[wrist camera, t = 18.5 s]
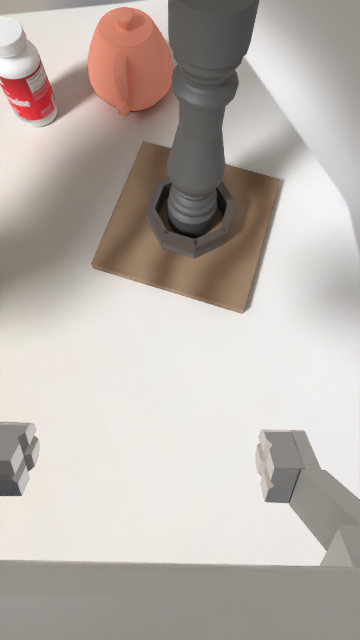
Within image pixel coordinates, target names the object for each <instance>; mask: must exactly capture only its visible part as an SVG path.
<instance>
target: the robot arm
mask: <svg viewBox="0 0 360 640" xmlns="http://www.w3.org/2000/svg"><path fill="white" fill-rule="evenodd" d="M35 432H36V428H35V425H34V424H33V423H20V422H0V496H22V494H23V492H24V490H25V487H26V485H27V483H28V481H29V474H28V471H30V470H31V469H32V468H33V467H35V464H36V462H37V459H38V455H39V440H38V438H36V437H35V436H34V434H35ZM259 439H260V443H259V444H258V445H257V448H256V466H257V471H258V473H259V474H260V475H261V476H262V480H261V488H262V492H263V496H264V501H265V502H276V503H289V505H290V506H291V508H292V509H293V510H294V511H295V512H296V514H297V515H298V516H299V517H300V519H301V520H302V521H303V522H304V524H305V525H306V526H307V527H308V529H309V530H310V531H311V532H312V533H313V535H314V536H315V537H316V538H317V540H318V541H319V542H320V543H321V545H322V546H323V547H324V548H325V550H326V551H327V552H326V554H325V556H324V558H323V560H322V562H321V564H320V566H290V565H240V564H190V563H140V562H87V561H36V560H0V640H360V499H358V498H357V497H356V496H355V495H354V494H353V493H351V492H350V491H349V490H348V489H347V488H346V487H345V486H343V485H342V484H341V483H340V482H339V481H338V480H336V479H335V478H334V477H333V476H332V475H331V474H330V473H328V472H327V471H326V470H321V468H320V466H319V463H318V461H317V459H316V456H315V454H314V452H313V449H312V447H311V445H310V442H309V440H308V438H307V435H306V433H305V432H304V431H303V430H261V431H260V435H259Z"/></svg>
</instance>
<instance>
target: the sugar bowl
mask: <svg viewBox="0 0 360 640" xmlns="http://www.w3.org/2000/svg"><path fill="white" fill-rule="evenodd" d="M88 72H89V78H90V83H91V85H92V87H93V89H94V91H95V92H96V93H97V95H98V96H99V97H100V98H101V99H103V100H104V101H105V102H107V103H108V104H110V105H112V106H114V107H116V108H118V109H119V111H120V114H122V115H124V116H126V115H128V114H129V113H130V111H138V110H143V109H147V108H149V107H151V106H153V105H154V104H156V103H157V102H158V101H160V100H161V99H162V98H163V97H164V96H165V94H166V93H167V92H168V90H169V88H170V86H171V83H172V74H173V66H172V60H171V56H170V52H169V49H168V46H167V44H166V42H165V40H164V38H163V36H162V34H161V32H160V31H159V29H158V28H157V26H156V24H155V23H154V22H153V20H152V19H151V18H150V17H149V16H148V15H147V14H146V13H144V12H142V11H140V10H138V9H134V8H127V7H122V8H117V9H114V10H111V11H109V12H108V13H106V14H105V15H104V16H103V17H102V18H101V19H100V21H99V23H98V25H97V27H96V30H95V32H94V35H93V38H92V41H91V45H90V49H89V56H88Z"/></svg>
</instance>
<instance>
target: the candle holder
mask: <svg viewBox="0 0 360 640" xmlns="http://www.w3.org/2000/svg"><path fill="white" fill-rule="evenodd" d="M258 4H259V0H168V33H169V42H170V46H171V48H172V49H173V55H174V58H175V60H176V61H177V63H178V65H177V66H176V67H175V69H174V72H173V74H172V86H173V92H174V94H175V95H176V97H177V98H178V100H179V101H180V111H179V125H178V128H177V132H176V135H175V138H174V141H173V145H172V148H171V151H170V154H169V158H168V161H167V169H168V176H169V179H170V180H171V182H172V186H171V189H170V192H169V197H168V200H167V206H168V223H169V225H170V227H171V228H172V230H173V231H174V232H176V233H177V234H179V235H182V236H186V237H189V238H198V237H200V236H202V235H205V234H206V233H207V232H208V231H209V230H210V229H211V228H212V225H213V222H214V218H215V214H216V209H217V193H216V187H217V186H218V185H219V184H220V183H221V181H222V178H223V175H224V172H225V158H224V147H223V136H222V123H223V117H224V112H225V106H226V105H227V104H228V103H229V102H230V101H231V100H232V99H233V98H234V96H235V93H236V90H237V87H238V77H237V73H236V71H235V69H236V68H237V67H238V66H239V65H240V64H241V61H242V58H243V56H244V55H246V54H247V50H248V48H249V45H250V42H251V37H252V32H253V27H254V22H255V18H256V14H257V9H258Z"/></svg>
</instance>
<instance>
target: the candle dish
mask: <svg viewBox="0 0 360 640" xmlns="http://www.w3.org/2000/svg"><path fill="white" fill-rule="evenodd" d="M170 151H171V149H169V148H165V147H162V146H158V145H155V144H151V143H148V142H144V141H143V143H142V146H141V148H140V150H139V153H138V155H137V157H136V160H135V162H134V164H133V167H132V169H131V172H130V174H129V176H128V179H127V181H126V183H125V186H124V188H123V190H122V193H121V195H120V197H119V200H118V202H117V204H116V207H115V209H114V212H113V214H112V216H111V219H110V221H109V223H108V226H107V228H106V230H105V233H104V235H103V237H102V240H101V242H100V245H99V247H98V249H97V252H96V254H95V256H94V259H93V261H92V263H91V265H92V267H93V268H94V269H97V270H101V271H104V272H107V273H111V274H114V275H117V276H120V277H124V278H127V279H130V280H133V281H137V282H140V283H143V284H147V285H150V286H153V287H156V288H160V289H163V290H166V291H169V292H173V293H176V294H179V295H183V296H186V297H189V298H192V299H196V300H199V301H202V302H205V303H209V304H212V305H215V306H219V307H222V308H225V309H228V310H232V311H235V312H238V313H241V314H242V313H243V312H244V310H245V306H246V303H247V299H248V295H249V292H250V288H251V284H252V281H253V277H254V273H255V270H256V266H257V262H258V259H259V255H260V251H261V248H262V244H263V241H264V237H265V233H266V230H267V226H268V222H269V219H270V215H271V211H272V208H273V204H274V200H275V197H276V193H277V189H278V186H279V182H280V179H276V178H273V177H269V176H266V175H262V174H258V173H255V172H251V171H248V170H244V169H241V168H237V167H233V166H230V165H226V164H225V172H224V175H223V178H222V181H221V183H220V184H219V185H218V186H217V187H216V193H217V209H216V214H215V218H214V222H213V225H212V228H211V229H210V230H209V231H208V232H207V233H206V234H205V235H202V236H200V237H198V238H189V237H186V236H182V235H179V234H177V233H176V232H174V231H173V230H172V228H171V227H170V225H169V223H168V206H167V200H168V197H169V192H170V189H171V186H172V182H171V180H170V179H169V176H168V169H167V161H168V158H169V154H170Z"/></svg>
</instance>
